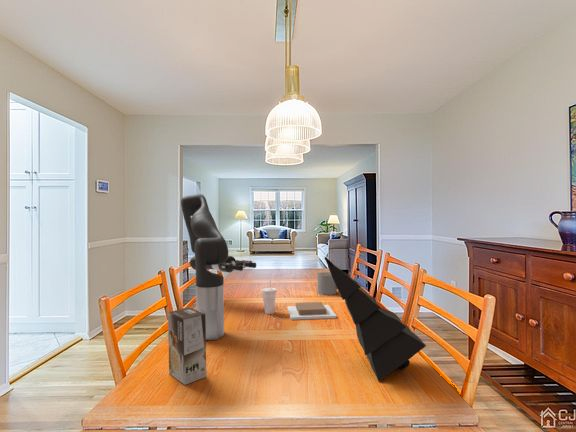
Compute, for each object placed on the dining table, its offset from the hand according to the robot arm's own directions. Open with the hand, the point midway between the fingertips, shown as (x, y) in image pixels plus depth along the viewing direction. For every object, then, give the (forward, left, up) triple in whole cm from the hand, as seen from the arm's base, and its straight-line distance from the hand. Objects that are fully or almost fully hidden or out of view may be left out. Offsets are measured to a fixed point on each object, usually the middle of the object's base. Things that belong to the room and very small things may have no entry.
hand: (249, 266), depth 146 cm
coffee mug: (+24, -41, -18) cm, 51 cm away
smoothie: (-7, -8, -18) cm, 22 cm away
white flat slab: (-10, -25, -18) cm, 33 cm away
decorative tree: (-61, -33, -18) cm, 72 cm away
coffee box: (-59, +15, -18) cm, 64 cm away
